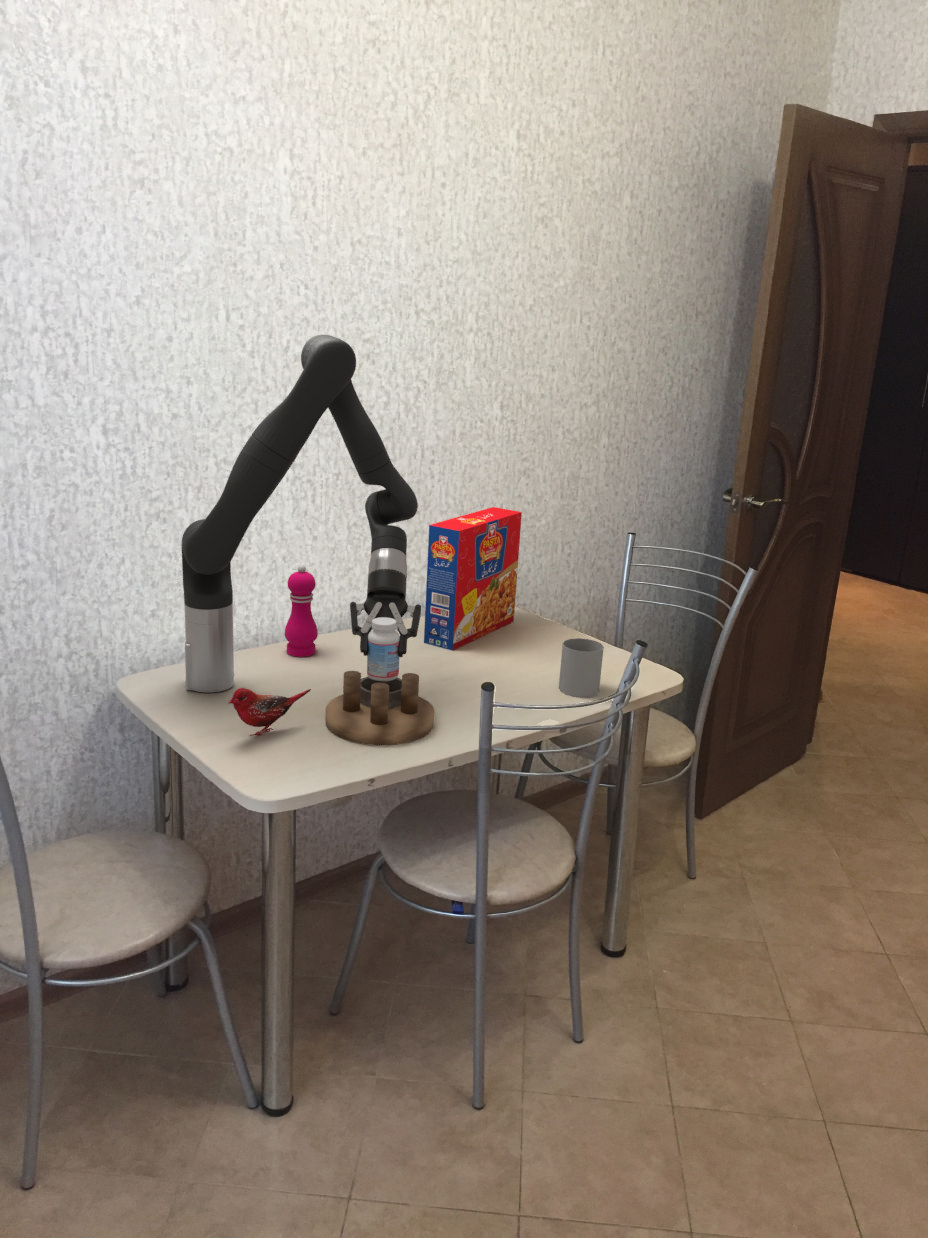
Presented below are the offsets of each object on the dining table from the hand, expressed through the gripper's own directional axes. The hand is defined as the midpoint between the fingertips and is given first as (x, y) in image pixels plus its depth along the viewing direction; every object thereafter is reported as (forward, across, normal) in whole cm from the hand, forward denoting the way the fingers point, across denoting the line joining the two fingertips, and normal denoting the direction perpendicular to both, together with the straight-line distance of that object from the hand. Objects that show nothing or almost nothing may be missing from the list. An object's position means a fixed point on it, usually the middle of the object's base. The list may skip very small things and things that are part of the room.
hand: (383, 654), depth 192 cm
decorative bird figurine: (+16, -20, +2) cm, 25 cm away
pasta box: (-27, +19, +45) cm, 56 cm away
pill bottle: (+3, 0, +5) cm, 6 cm away
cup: (-3, +40, +21) cm, 45 cm away
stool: (+11, 0, +6) cm, 13 cm away
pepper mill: (-14, -19, +32) cm, 40 cm away
